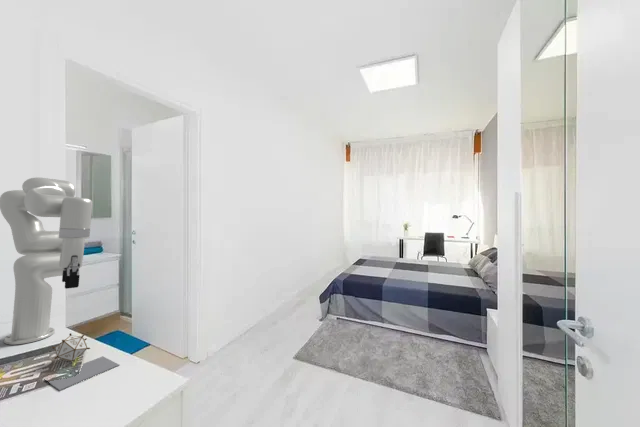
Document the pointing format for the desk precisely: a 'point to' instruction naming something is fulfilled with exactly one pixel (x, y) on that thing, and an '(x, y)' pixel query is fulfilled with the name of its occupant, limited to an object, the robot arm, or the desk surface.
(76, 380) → the charcoal mat
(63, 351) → the game die
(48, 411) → the desk surface
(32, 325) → the robot arm
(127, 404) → the desk surface
